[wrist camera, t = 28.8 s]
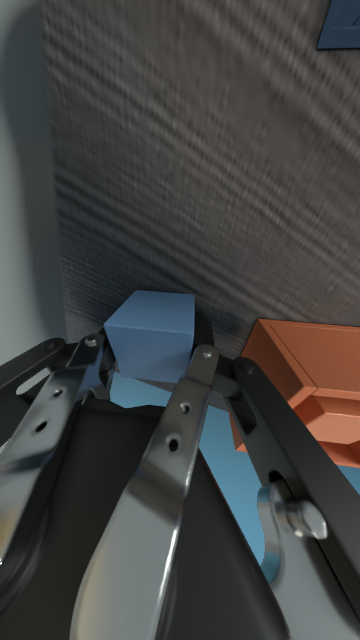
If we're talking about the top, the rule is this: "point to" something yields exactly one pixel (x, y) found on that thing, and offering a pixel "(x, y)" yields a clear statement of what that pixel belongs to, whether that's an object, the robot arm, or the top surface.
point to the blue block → (153, 335)
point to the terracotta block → (330, 418)
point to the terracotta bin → (308, 369)
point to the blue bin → (341, 25)
